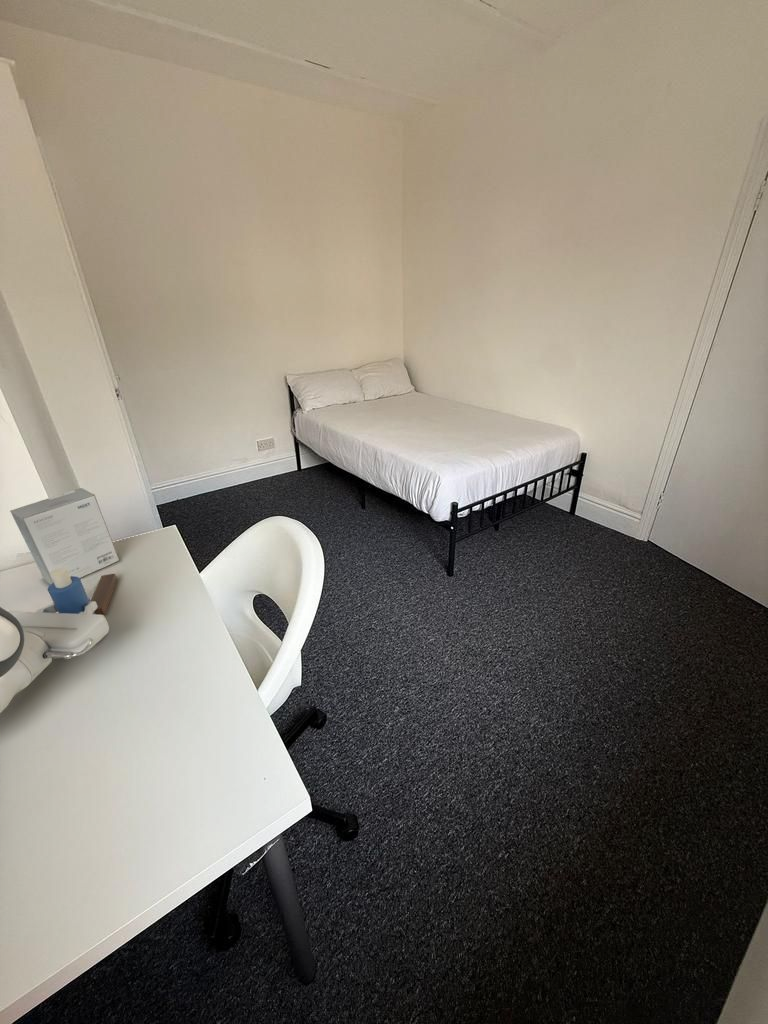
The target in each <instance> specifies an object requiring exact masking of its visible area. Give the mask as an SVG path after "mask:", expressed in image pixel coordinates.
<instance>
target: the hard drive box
mask: <svg viewBox="0 0 768 1024" xmlns="http://www.w3.org/2000/svg"><path fill="white" fill-rule="evenodd" d="M9 513H10V514H11V516H12V518H13V520H14V522H15V524H16V527H17V528H18V530H19V532H20V534H21V537H22V538H23V540H24V542H25V544H26V546H27V549H28V550H29V552H30V554H31V556H32V559H33V561H34V562H35V564H36V566H37V568H38V570H39V572H40V574H41V577H42V578H43V580H44V581H45V582H46V583H47V584H48V585H49V586H50V585H51V584H52V583H53V580H52V578H51V576H50V573H51V572H52V571H53V570H55V569H58V568H66V569H67V571H68V574H69V576H76V577H79V578H80V579H82V578H83V577H85V576H88V575H90V574H92V573H94V572H97V571H99V570H101V569H104V568H106V567H108V566H110V565H113V564H115V563H117V562H119V561H120V557H119V554H118V553H117V549H116V548H115V545H114V543H113V540H112V537H111V534H110V531H109V530H108V526H107V524H106V521H105V518H104V516H103V513H102V511H101V508H100V505H99V502H98V500H97V497H96V494H95V493H92V492H90V491H88V490H87V489H85V488H83V487H80V488H76V489H73V490H69V491H67V492H63V493H61V494H57V495H54V496H50V497H48V498H45V499H41V500H39V501H36V502H32V503H29V504H26V505H23V506H20V507H17V508H14V509H11V510H9Z"/></svg>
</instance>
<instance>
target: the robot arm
mask: <svg viewBox="0 0 768 1024" xmlns="http://www.w3.org/2000/svg"><path fill="white" fill-rule="evenodd" d="M82 607H83V609H84V612H80V613H79V614H70V613H58V611H57V609H56V606H55V604H54V602H53V601H52V603H51V604H49V605H46V606H44V607H42V608H39V609H37V610H36V611H17V610H11V611H8V610H6V609H4V608H3V607H0V714H1V713H2V712H3V711H4V710H5V709H6V708H7V707H8V706H9V705H10V702H11V701H12V700H13V698H14V697H15V695H17V694H18V693H20V692H21V691H22V690H24V689H26V688H27V687H28V686H29V685H30V684H31V683H32V682H33V681H34V680H35V679H36V678H37V677H38V676H39V675H40V674H41V673H42V672H43V671H44V670H45V669H46V668H47V667H48V666H49V665H50V664H51V663H52V661H53V659H62V660H69V659H72V658H73V657H78V656H81V655H83V654H85V653H87V652H88V651H89V650H91V649H92V648H93V647H94V646H95V645H97V644H98V643H99V642H100V641H101V640H102V639H103V638H104V637H105V636H106V635H107V634H108V633H109V631H110V627H109V623H108V621H107V618H106V616H105V615H96V614H93V612H94V611H95V610H96V609H97V607H98V606H97V603H96V602H95V601H91V600H89V601H87V602H86V603H85V604H84V605H83V606H82Z"/></svg>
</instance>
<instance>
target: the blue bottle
mask: <svg viewBox="0 0 768 1024" xmlns="http://www.w3.org/2000/svg"><path fill="white" fill-rule="evenodd" d="M50 576H51V578H52V580H53V583H52V584H51V585H50V584H49V585H48V586H47V592H48V594H49V596H50V598H51V601H52V603H53V602H54V604H55V606H56V609H57V611H58V612H57V613H70V614H79V613H80V612H84V609H83V607H82V606H83V605H84V604H85V603H86V602H87V601H90V599H89V597H88V594H87V592H86V590H85V587H84V586H83V585H84V584H83V582H82V580H81V578H79V577H76V576H69V574H68V571H67V569H66V568H58V569H55V570H53V571H52V572H51V573H50ZM93 614H95V613H94V612H93Z"/></svg>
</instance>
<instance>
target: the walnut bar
mask: <svg viewBox="0 0 768 1024" xmlns="http://www.w3.org/2000/svg"><path fill="white" fill-rule="evenodd" d="M116 575H117V574H116V573H110V574H104V575H101V576H100V578H99V580H98V582H97V585H96V587H95V589H94V592H93V595H92V597H91V599H90V601H95V602H96V603H97V606H98V607H97V609H96V610H95V611H94V613H95V614H96V615H104V616H105V614H106V611H107V609H108V606H109V603H110V601H111V599H112V595H113V592H114V590H115V587H116V585H117V582H118V578H117V576H116Z"/></svg>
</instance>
